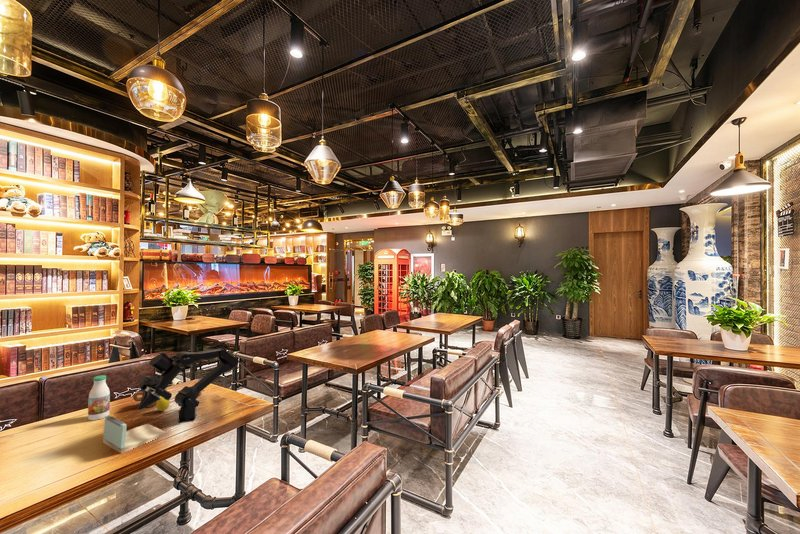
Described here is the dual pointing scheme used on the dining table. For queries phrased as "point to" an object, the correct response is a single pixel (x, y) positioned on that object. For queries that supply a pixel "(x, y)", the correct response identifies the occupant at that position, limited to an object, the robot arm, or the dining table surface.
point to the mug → (142, 397)
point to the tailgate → (115, 431)
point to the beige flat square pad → (138, 437)
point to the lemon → (162, 404)
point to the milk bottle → (99, 399)
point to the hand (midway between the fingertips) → (138, 409)
